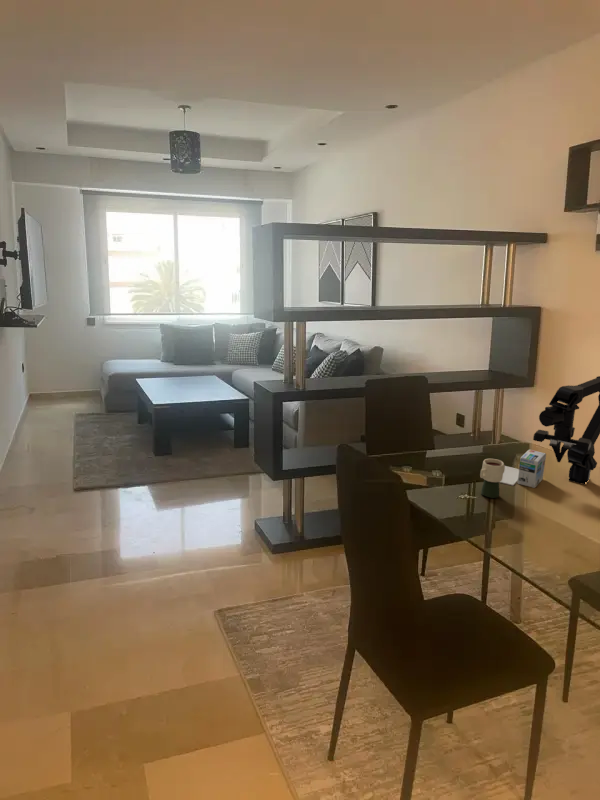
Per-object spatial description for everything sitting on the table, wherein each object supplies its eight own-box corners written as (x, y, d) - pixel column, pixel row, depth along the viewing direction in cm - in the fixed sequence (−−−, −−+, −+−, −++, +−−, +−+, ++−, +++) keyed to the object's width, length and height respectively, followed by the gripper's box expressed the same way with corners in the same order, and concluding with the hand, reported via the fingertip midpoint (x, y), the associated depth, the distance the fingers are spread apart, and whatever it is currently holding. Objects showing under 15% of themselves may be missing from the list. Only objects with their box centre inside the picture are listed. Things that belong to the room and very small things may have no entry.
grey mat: (525, 471, 236) (525, 470, 235) (513, 485, 223) (513, 484, 223) (495, 464, 242) (495, 463, 242) (481, 477, 230) (481, 476, 230)
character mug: (494, 488, 221) (497, 456, 217) (508, 496, 215) (512, 463, 211) (471, 494, 216) (474, 461, 212) (485, 502, 210) (489, 468, 206)
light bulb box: (534, 488, 221) (538, 461, 218) (516, 483, 225) (519, 457, 222) (543, 479, 229) (546, 452, 226) (525, 474, 233) (528, 448, 230)
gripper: (597, 420, 216) (590, 460, 220) (543, 411, 226) (538, 449, 231) (591, 429, 207) (584, 470, 212) (535, 419, 217) (530, 458, 222)
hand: (558, 461), depth 219 cm, fingers closed
